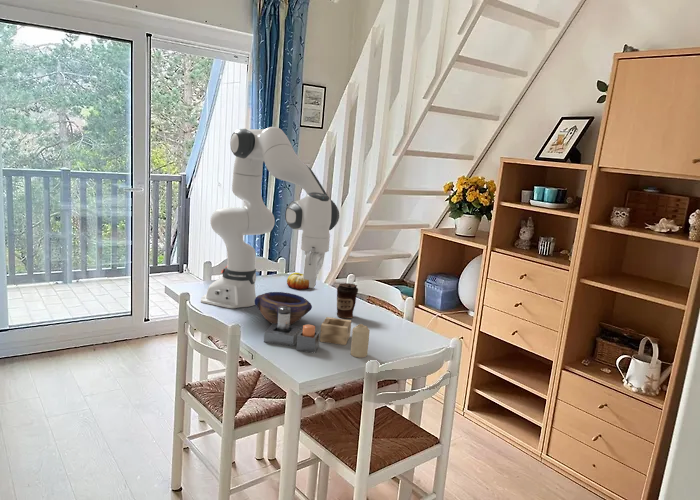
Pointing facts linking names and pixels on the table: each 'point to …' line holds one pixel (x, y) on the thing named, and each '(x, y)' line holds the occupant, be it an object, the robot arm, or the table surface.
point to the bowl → (274, 300)
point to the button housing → (307, 342)
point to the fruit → (297, 281)
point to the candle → (360, 341)
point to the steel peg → (283, 319)
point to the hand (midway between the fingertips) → (312, 286)
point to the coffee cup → (346, 299)
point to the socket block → (282, 335)
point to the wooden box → (335, 331)
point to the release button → (308, 330)
